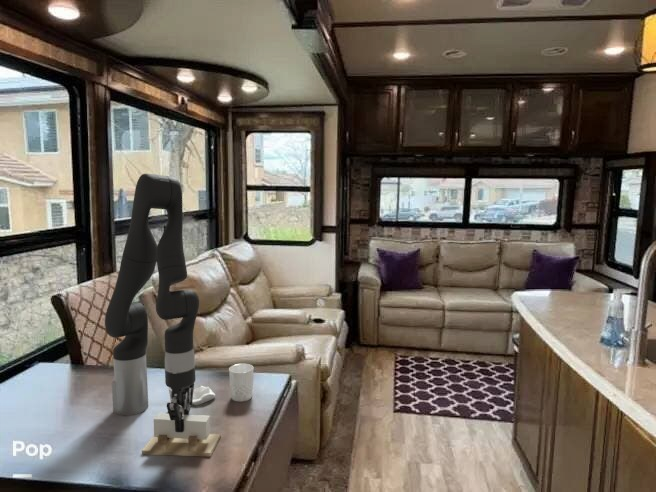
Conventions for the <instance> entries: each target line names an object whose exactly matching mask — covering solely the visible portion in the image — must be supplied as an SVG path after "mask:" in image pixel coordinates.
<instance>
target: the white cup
mask: <svg viewBox="0 0 656 492" xmlns="http://www.w3.org/2000/svg"><path fill="white" fill-rule="evenodd" d="M254 370H255V369H254V366H253V365H252V364H249V363H237V364H234V365H233V364H232V365H230V366H229V368H228V372H229V373H228V375H229V386H230V387H229V388H230V398H231V400H232V401H235V402H238V403H239V402H241V403H242V402H247V401H249V400H251V399H252V398H253V388H254V387H253V386H254Z"/></svg>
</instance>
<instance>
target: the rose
mask: <svg viewBox="0 0 656 492" xmlns="http://www.w3.org/2000/svg"><path fill="white" fill-rule="evenodd" d="M215 397H216V394H215V392H214V391H213V390H212V389H211V388H210V387H209V386H203V385H199V386H198V387H197V388H195V389H194V390H193V400H192V406H198V405H201V404H204V403H207V402H208V401H211V400H213V399H215Z"/></svg>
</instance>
